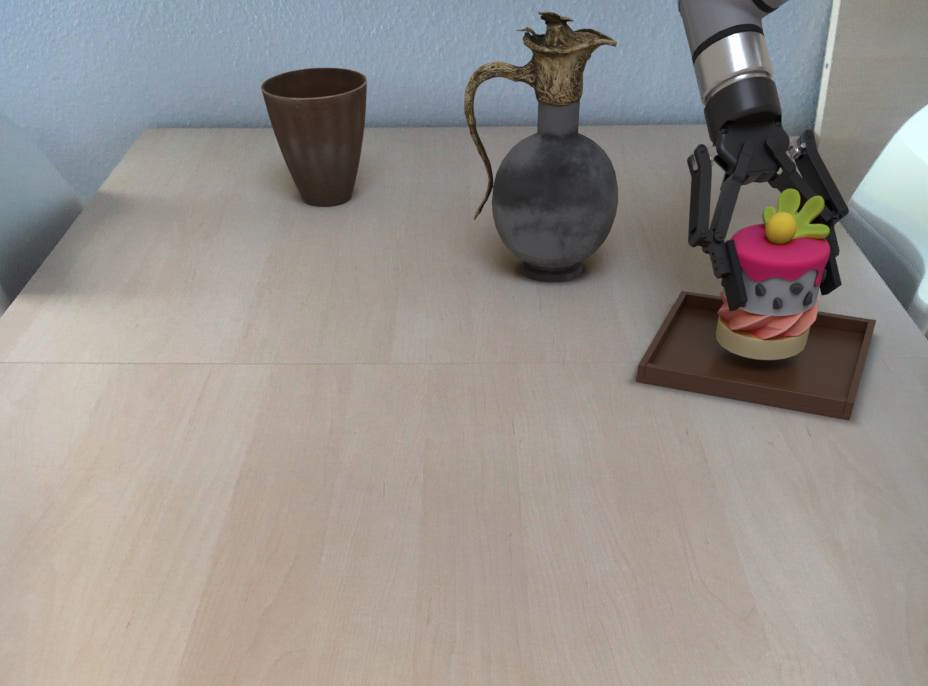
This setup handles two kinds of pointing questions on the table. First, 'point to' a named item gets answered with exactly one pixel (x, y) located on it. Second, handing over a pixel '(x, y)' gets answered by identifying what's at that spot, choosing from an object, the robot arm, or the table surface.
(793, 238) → the cake
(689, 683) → the table surface
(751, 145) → the robot arm
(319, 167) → the flower pot
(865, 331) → the tray
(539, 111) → the pitcher
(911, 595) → the table surface
